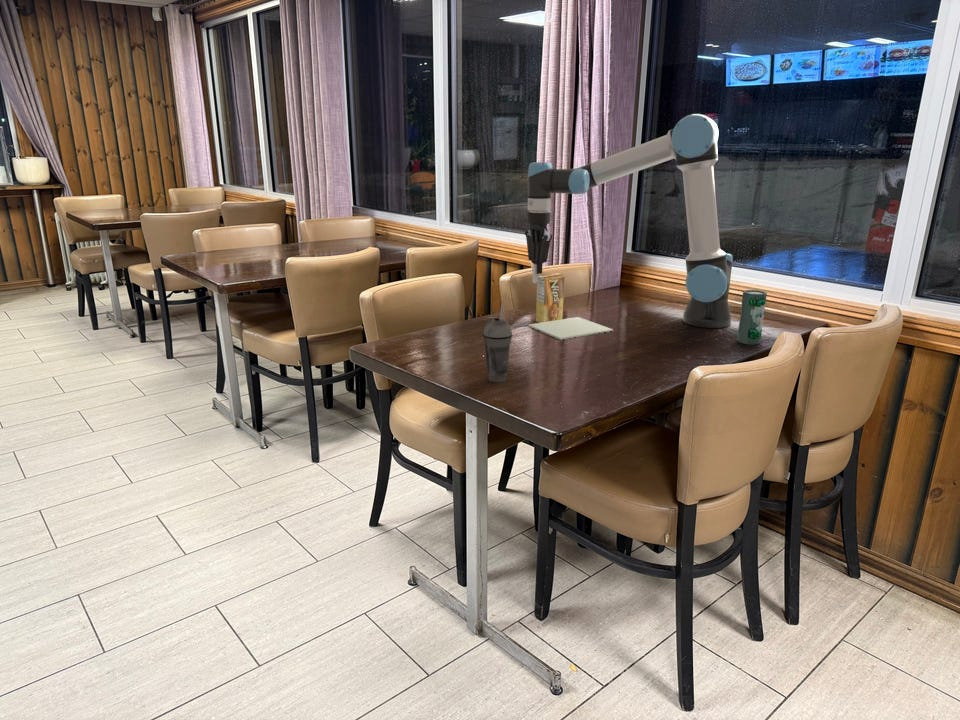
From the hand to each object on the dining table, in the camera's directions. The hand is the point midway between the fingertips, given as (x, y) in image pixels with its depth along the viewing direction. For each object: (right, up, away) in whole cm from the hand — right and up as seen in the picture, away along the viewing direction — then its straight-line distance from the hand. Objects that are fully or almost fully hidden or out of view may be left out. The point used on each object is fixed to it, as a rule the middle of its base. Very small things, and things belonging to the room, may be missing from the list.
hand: (536, 282), depth 224 cm
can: (+61, -21, -26) cm, 69 cm away
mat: (+9, -16, -13) cm, 23 cm away
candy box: (+4, -13, -3) cm, 14 cm away
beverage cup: (-15, -31, -57) cm, 67 cm away
